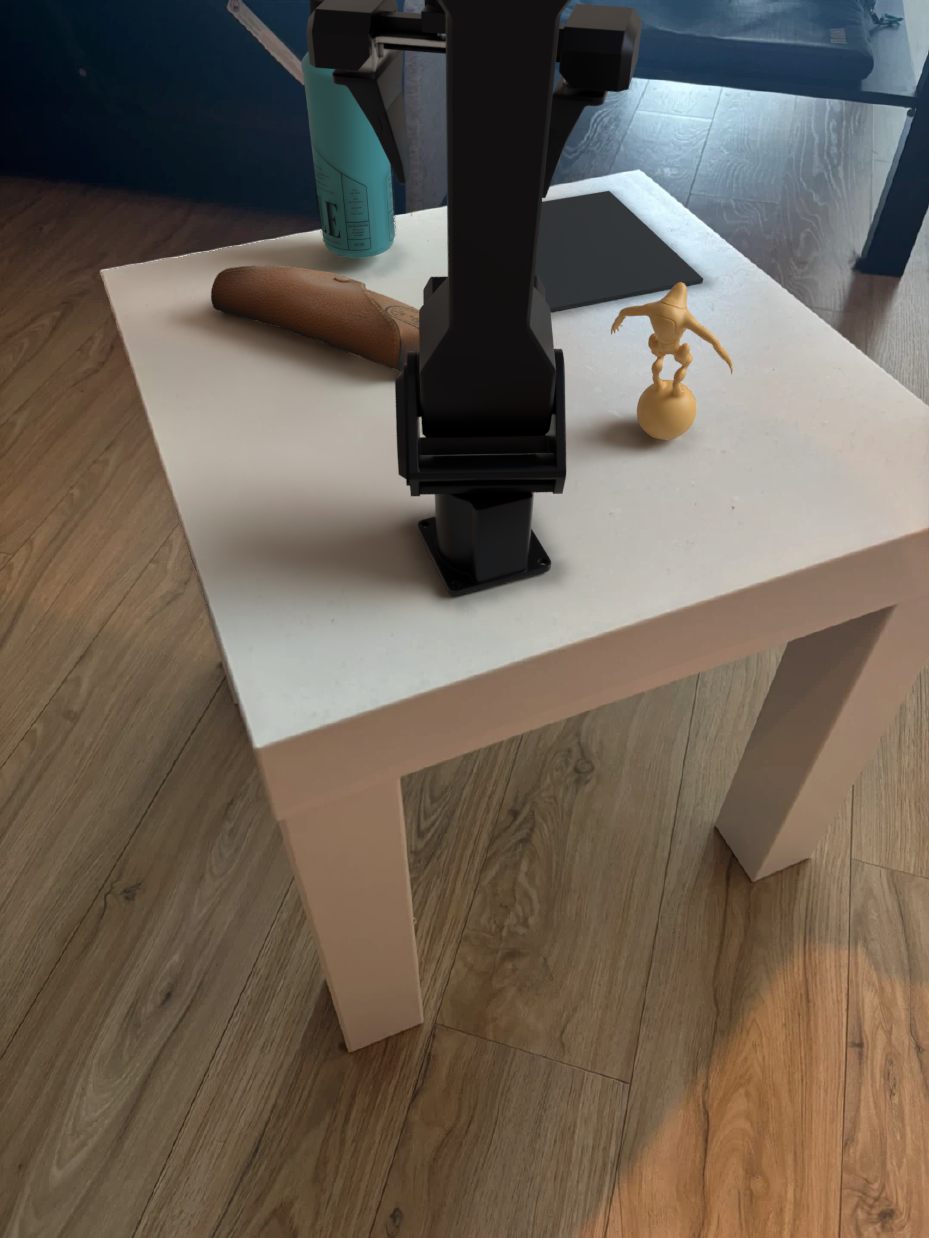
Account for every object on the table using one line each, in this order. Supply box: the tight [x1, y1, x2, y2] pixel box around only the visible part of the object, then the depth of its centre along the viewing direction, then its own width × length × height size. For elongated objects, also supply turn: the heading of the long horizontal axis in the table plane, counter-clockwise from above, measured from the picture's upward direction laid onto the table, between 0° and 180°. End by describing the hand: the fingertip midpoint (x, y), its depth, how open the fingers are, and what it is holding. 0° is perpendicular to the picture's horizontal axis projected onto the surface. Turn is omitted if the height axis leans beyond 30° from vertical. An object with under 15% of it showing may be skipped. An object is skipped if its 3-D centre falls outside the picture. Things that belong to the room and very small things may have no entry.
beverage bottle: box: [300, 0, 398, 259], centre depth 74 cm, size 6×7×20 cm
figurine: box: [610, 282, 734, 441], centre depth 60 cm, size 8×6×12 cm
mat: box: [535, 190, 704, 313], centre depth 83 cm, size 18×14×1 cm
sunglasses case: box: [210, 264, 420, 373], centre depth 73 cm, size 18×7×7 cm, turn 60°
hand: (473, 188), depth 61 cm, fingers open, 9 cm apart
